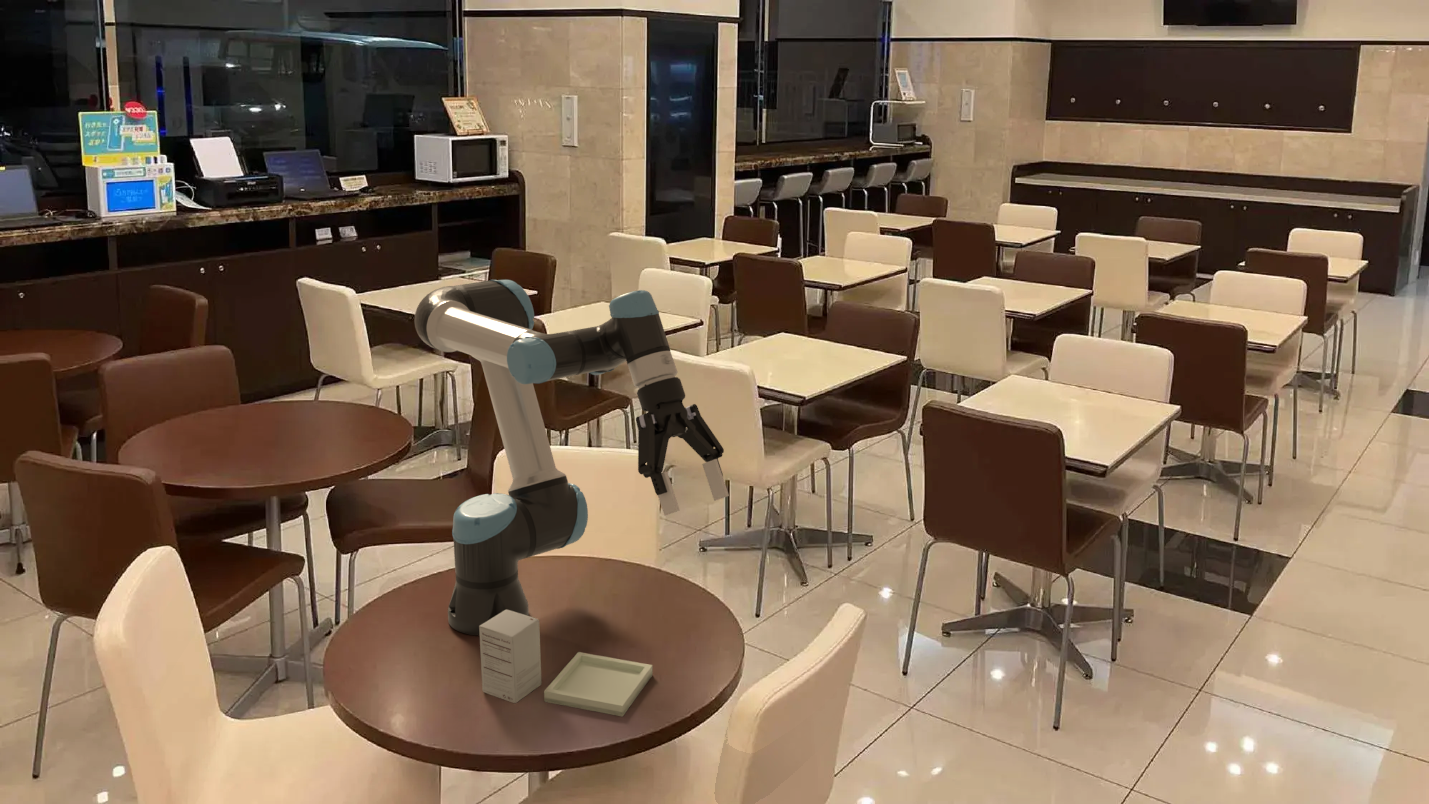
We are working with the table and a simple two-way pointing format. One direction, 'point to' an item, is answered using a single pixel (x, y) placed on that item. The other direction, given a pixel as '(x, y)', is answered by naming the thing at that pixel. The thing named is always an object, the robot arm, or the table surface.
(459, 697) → the table surface
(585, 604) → the table surface
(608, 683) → the tray
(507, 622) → the supplement box
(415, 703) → the table surface
